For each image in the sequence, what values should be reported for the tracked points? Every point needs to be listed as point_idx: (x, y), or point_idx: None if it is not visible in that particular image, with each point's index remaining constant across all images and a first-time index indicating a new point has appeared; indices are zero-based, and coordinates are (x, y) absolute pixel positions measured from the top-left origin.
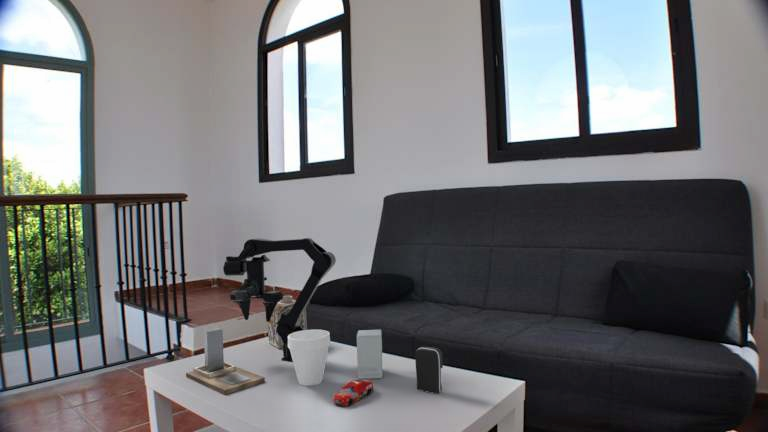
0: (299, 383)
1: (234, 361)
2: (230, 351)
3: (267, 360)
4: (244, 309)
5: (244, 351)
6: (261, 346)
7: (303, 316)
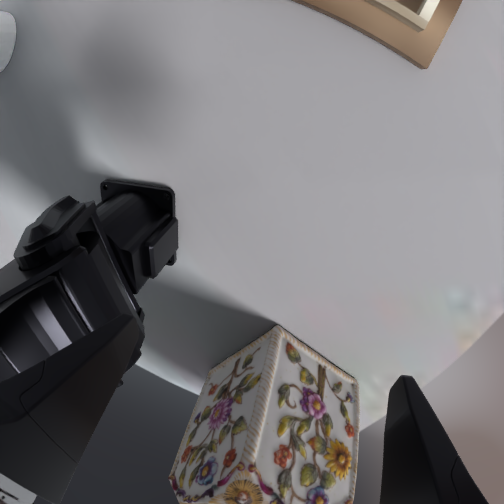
0: (9, 13)
1: (409, 145)
2: (481, 289)
3: (238, 178)
4: (423, 476)
5: (424, 294)
6: (373, 352)
7: (183, 452)
